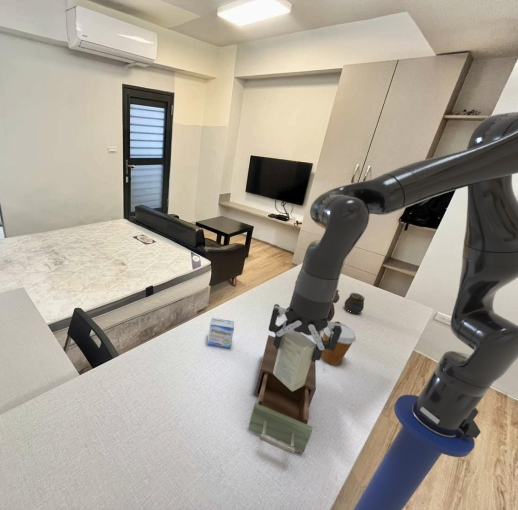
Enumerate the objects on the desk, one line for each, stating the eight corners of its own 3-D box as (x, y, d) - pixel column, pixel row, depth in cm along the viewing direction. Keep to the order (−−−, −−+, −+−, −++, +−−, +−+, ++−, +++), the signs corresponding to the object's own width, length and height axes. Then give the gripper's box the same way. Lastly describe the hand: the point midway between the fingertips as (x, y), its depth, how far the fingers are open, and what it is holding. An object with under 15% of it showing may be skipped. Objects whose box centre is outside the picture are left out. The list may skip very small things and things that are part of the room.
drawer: (302, 475, 59) (312, 451, 56) (243, 447, 63) (250, 423, 60) (304, 404, 75) (312, 382, 72) (258, 385, 79) (263, 365, 76)
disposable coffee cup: (336, 372, 88) (347, 343, 83) (309, 354, 95) (318, 325, 90) (350, 362, 93) (362, 333, 88) (324, 345, 100) (334, 317, 96)
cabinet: (305, 415, 73) (315, 388, 69) (253, 394, 78) (260, 368, 74) (306, 374, 86) (315, 350, 82) (262, 358, 91) (268, 334, 87)
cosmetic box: (304, 385, 65) (318, 344, 60) (291, 392, 63) (305, 350, 58) (283, 367, 70) (294, 328, 65) (270, 373, 68) (281, 333, 63)
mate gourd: (356, 307, 127) (364, 288, 123) (364, 317, 120) (372, 297, 116) (340, 305, 127) (347, 286, 123) (347, 314, 120) (354, 295, 116)
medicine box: (207, 345, 95) (210, 324, 92) (208, 336, 99) (211, 316, 96) (230, 349, 94) (234, 328, 91) (230, 340, 98) (233, 320, 95)
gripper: (276, 289, 56) (260, 352, 62) (355, 310, 51) (330, 376, 57) (280, 275, 62) (265, 333, 69) (351, 292, 57) (328, 354, 64)
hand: (295, 353), depth 63 cm, fingers closed on cosmetic box, 7 cm apart
